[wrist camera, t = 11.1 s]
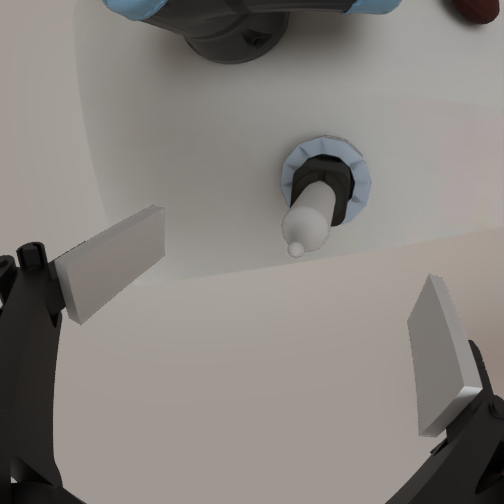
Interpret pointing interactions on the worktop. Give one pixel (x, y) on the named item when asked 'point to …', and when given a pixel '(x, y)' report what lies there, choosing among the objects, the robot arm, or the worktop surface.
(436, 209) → the worktop surface
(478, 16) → the potato
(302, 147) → the pale blue faceted cup
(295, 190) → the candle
